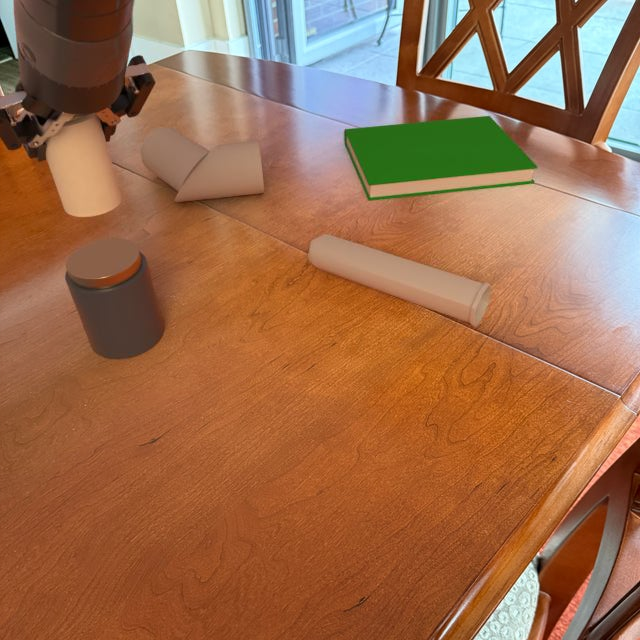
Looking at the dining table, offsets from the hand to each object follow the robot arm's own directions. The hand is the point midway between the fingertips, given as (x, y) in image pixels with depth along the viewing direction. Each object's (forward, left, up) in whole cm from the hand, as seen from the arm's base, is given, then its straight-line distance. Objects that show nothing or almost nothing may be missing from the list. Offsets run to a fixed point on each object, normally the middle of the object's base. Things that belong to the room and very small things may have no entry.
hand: (69, 142), depth 57 cm
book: (+62, +10, -25) cm, 68 cm away
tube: (+31, -13, -25) cm, 42 cm away
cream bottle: (0, -2, -6) cm, 6 cm away
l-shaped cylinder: (+26, +29, -25) cm, 46 cm away
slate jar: (0, +1, -25) cm, 25 cm away
